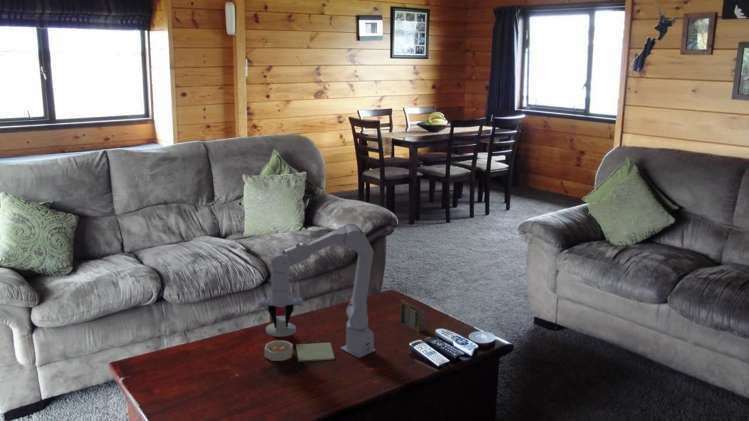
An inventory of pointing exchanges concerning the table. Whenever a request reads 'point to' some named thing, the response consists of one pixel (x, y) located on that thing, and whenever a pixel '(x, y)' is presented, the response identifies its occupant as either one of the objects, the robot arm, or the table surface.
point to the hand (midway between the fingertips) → (280, 326)
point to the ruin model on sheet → (412, 316)
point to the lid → (281, 328)
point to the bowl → (278, 350)
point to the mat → (314, 352)
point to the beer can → (279, 313)
